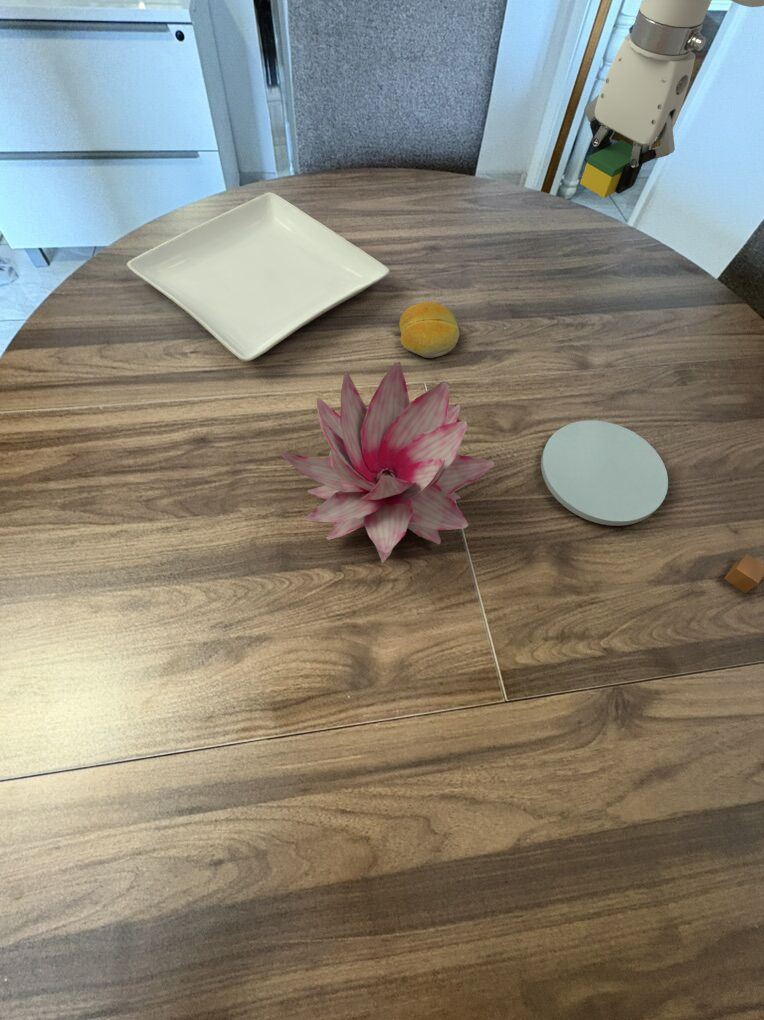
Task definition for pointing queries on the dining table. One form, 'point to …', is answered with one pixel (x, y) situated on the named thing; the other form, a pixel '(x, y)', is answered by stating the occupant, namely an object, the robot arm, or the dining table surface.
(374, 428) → the decorative flower
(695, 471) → the dining table surface
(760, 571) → the small brown block
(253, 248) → the square plate
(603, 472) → the plate
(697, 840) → the dining table surface
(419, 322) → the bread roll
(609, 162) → the sponge
